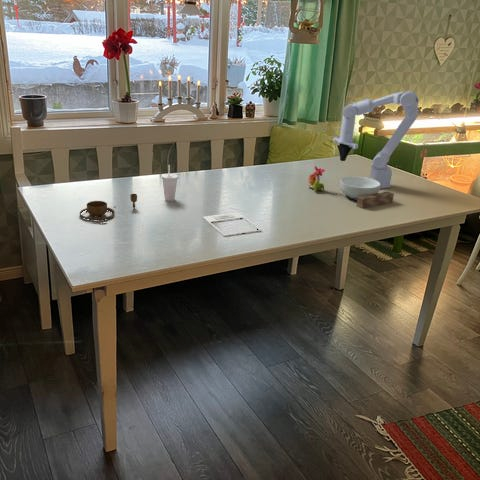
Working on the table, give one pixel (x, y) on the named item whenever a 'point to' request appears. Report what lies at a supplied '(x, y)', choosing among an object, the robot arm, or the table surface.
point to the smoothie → (169, 185)
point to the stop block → (375, 199)
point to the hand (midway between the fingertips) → (342, 160)
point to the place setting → (102, 208)
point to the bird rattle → (316, 179)
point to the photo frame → (228, 217)
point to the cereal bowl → (359, 186)
